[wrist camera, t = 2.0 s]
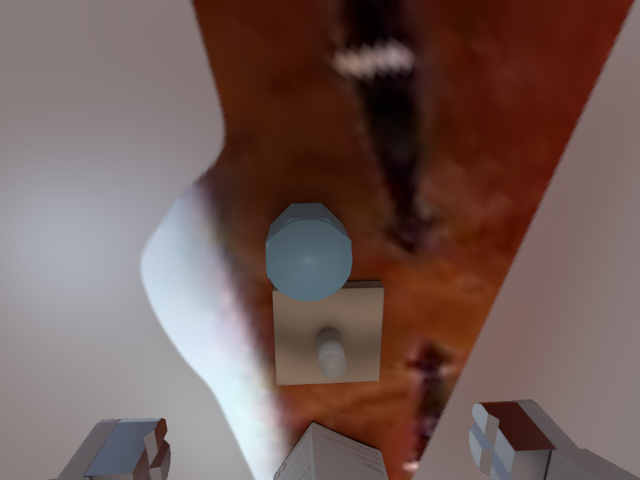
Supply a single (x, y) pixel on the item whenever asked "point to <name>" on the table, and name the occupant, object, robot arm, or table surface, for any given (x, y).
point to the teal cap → (308, 252)
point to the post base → (336, 313)
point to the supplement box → (331, 458)
